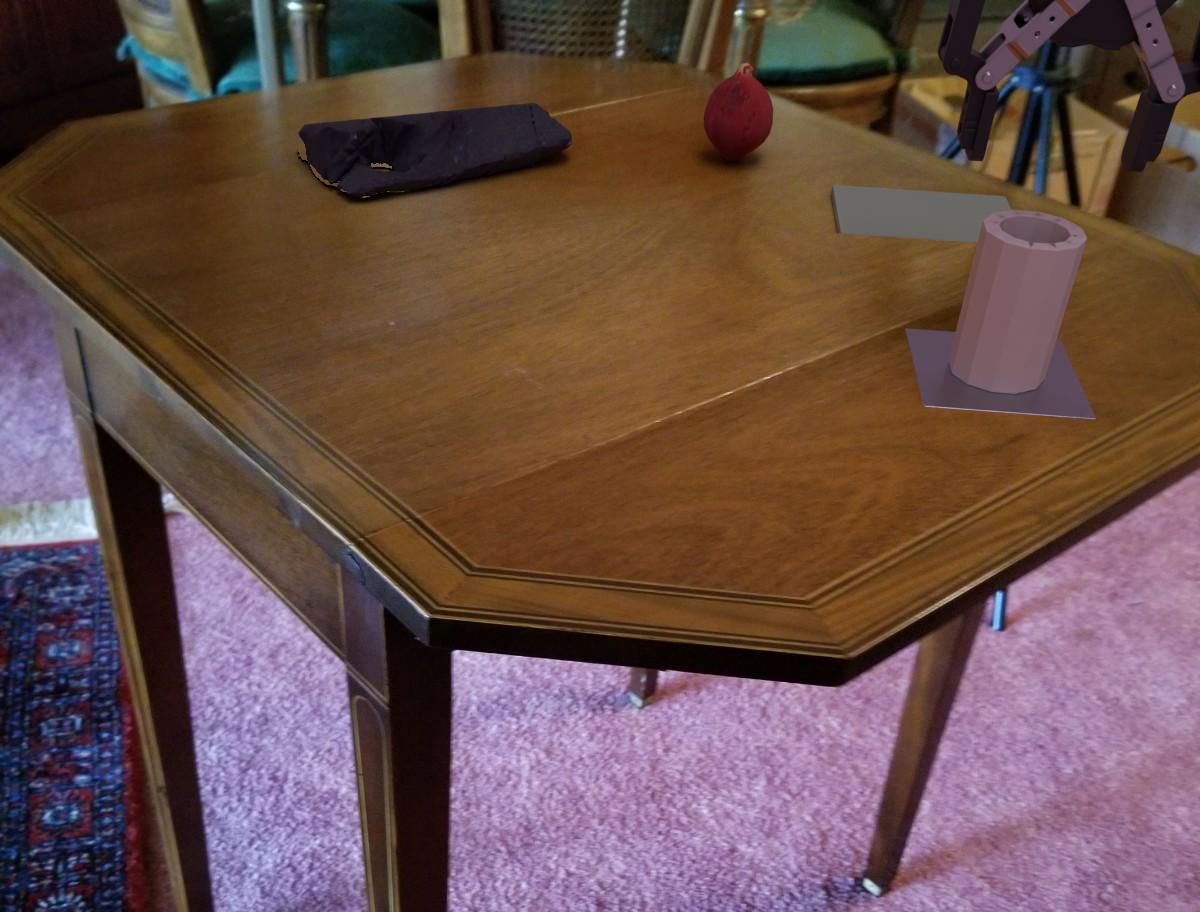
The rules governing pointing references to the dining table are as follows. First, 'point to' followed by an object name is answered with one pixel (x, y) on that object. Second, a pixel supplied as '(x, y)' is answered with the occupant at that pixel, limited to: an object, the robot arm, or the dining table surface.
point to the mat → (913, 212)
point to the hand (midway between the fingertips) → (1051, 162)
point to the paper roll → (1015, 300)
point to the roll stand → (948, 391)
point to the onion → (738, 115)
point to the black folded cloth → (431, 146)
